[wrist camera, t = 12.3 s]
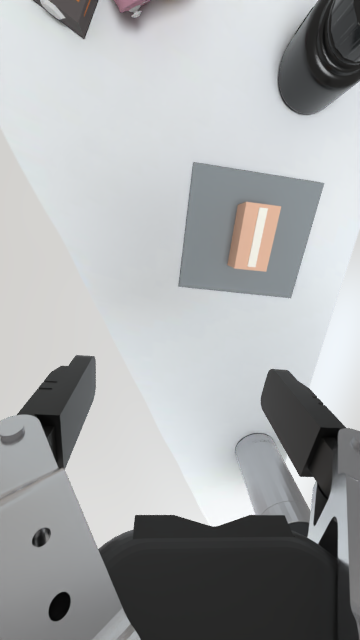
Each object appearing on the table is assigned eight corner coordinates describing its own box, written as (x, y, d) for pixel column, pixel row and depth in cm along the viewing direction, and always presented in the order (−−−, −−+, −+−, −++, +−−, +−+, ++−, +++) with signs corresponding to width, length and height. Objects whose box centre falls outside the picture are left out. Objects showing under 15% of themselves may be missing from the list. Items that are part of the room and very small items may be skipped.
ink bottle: (358, 49, 31) (471, -57, 19) (324, 127, 33) (406, 75, 22) (293, 12, 29) (376, -127, 18) (263, 98, 32) (318, 25, 20)
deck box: (269, 208, 36) (282, 206, 32) (256, 267, 39) (266, 271, 35) (237, 204, 36) (247, 201, 32) (227, 264, 39) (234, 268, 35)
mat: (289, 297, 42) (290, 298, 42) (178, 286, 40) (178, 286, 39) (322, 183, 36) (324, 183, 35) (193, 162, 34) (193, 162, 33)
